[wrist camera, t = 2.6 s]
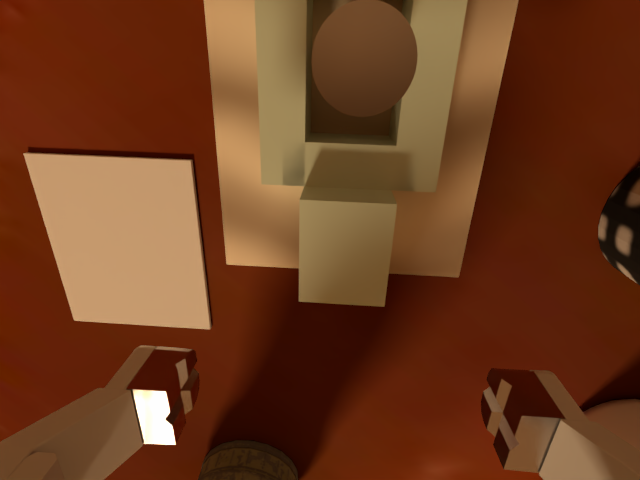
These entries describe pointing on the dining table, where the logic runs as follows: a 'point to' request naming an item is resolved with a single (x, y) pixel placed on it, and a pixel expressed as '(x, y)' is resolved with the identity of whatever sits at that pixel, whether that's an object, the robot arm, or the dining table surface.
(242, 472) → the stone moai statue
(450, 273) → the post stand
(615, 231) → the white-spotted black cylinder
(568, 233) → the dining table surface
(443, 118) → the link
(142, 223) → the mat
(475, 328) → the dining table surface
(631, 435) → the alcohol
